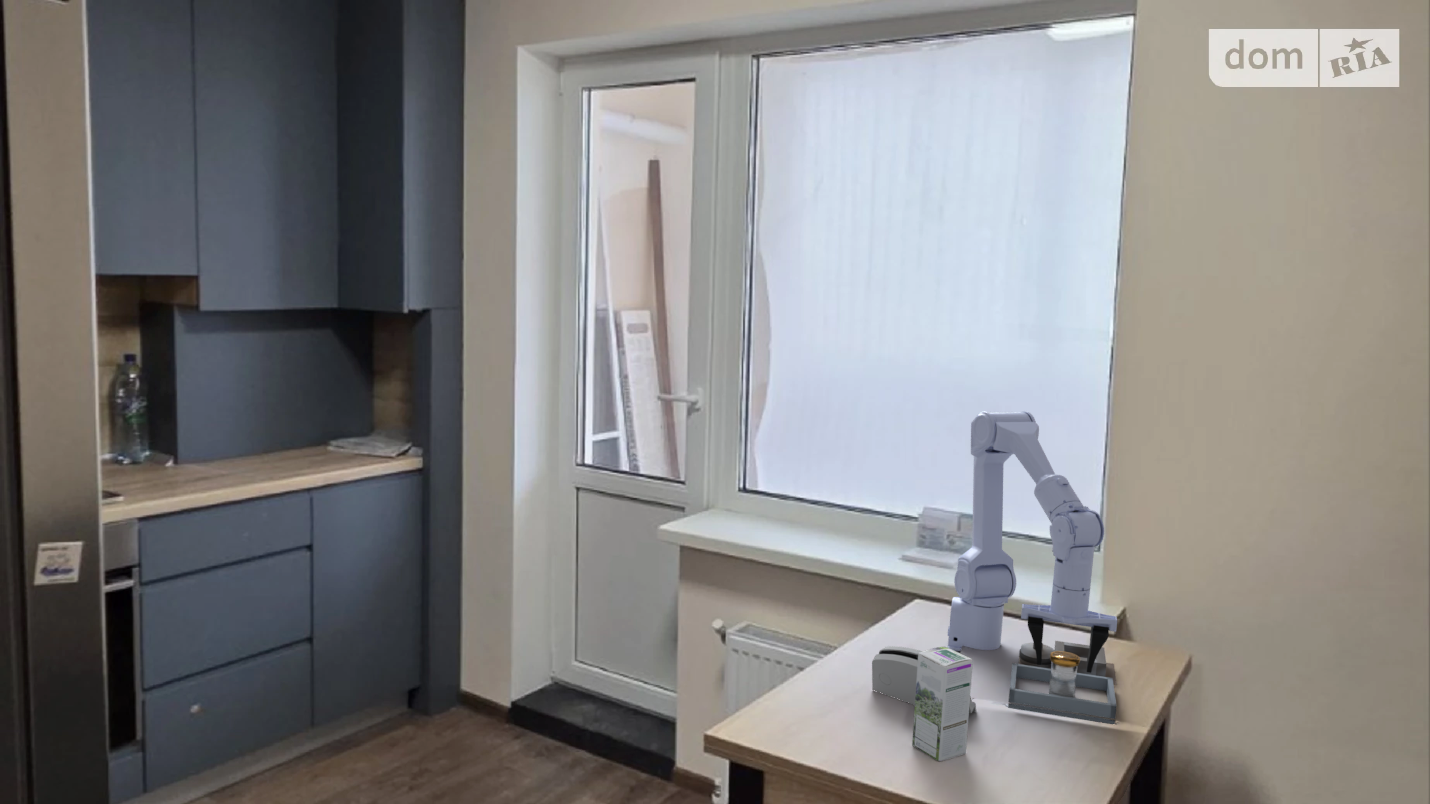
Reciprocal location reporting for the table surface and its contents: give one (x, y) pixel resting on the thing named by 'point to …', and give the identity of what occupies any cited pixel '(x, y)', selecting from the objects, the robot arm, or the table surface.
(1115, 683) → the board
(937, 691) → the syrup box
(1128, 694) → the table surface
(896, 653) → the grey toaster
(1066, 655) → the gold-rimmed cylinder
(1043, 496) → the robot arm
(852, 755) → the table surface
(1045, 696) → the tray
